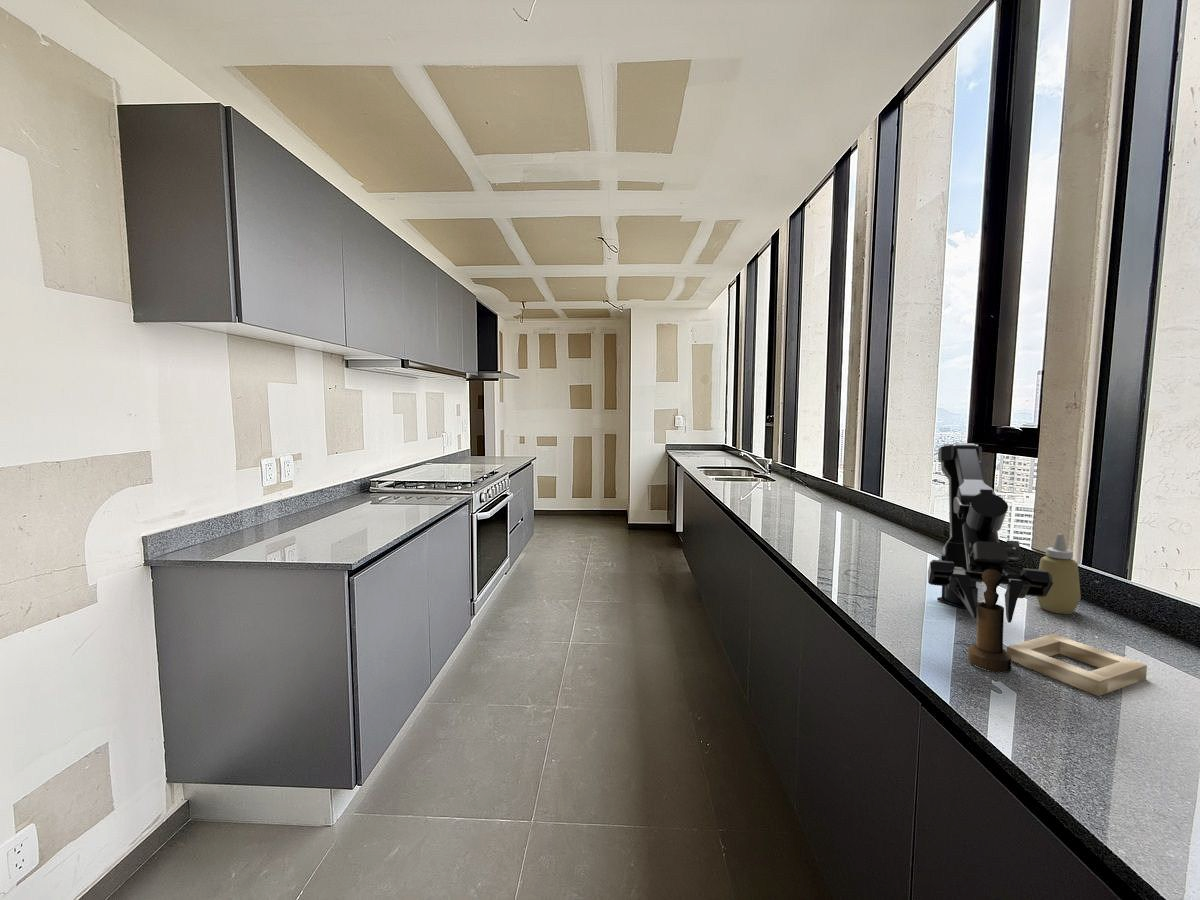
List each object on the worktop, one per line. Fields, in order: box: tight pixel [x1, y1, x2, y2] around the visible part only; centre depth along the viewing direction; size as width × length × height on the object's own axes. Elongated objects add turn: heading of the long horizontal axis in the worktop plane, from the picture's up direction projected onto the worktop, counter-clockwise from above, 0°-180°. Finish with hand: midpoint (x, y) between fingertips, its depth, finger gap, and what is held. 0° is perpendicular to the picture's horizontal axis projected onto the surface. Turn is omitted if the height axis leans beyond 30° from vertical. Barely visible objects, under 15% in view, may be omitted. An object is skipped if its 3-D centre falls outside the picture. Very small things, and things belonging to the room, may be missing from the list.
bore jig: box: [1006, 633, 1148, 697], centre depth 95 cm, size 14×14×2 cm
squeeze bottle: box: [1036, 533, 1082, 615], centre depth 121 cm, size 8×8×18 cm
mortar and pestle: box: [967, 569, 1012, 673], centre depth 96 cm, size 7×6×18 cm
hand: (992, 619), depth 95 cm, fingers open, 5 cm apart
